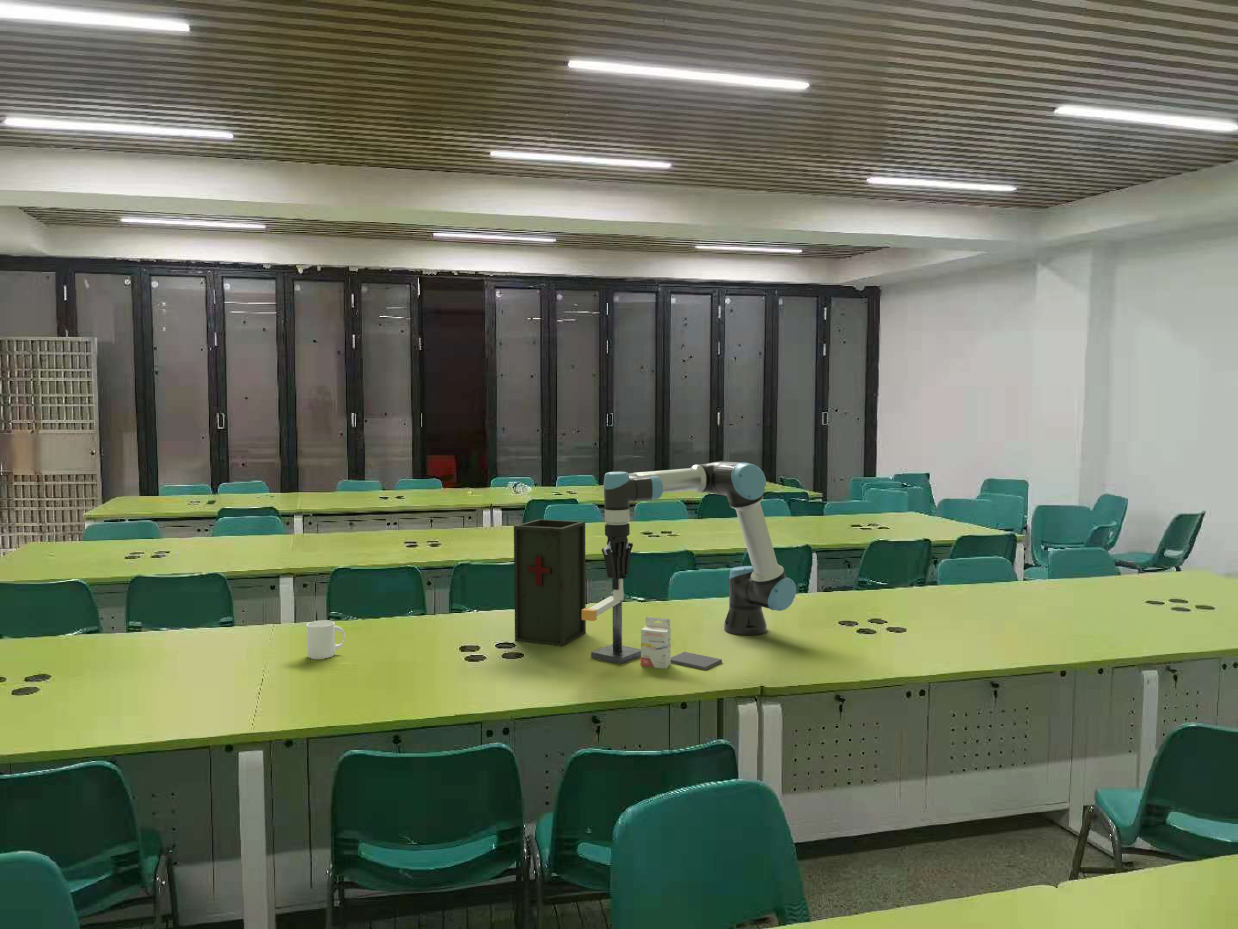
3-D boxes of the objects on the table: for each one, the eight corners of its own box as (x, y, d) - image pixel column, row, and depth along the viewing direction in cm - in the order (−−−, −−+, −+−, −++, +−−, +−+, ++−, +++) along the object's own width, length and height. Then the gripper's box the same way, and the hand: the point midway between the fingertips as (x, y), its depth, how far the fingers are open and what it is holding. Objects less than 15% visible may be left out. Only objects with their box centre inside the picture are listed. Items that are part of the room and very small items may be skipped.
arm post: (613, 649, 286) (613, 596, 284) (643, 655, 278) (643, 601, 277) (591, 658, 276) (591, 602, 275) (621, 664, 269) (621, 608, 268)
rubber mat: (684, 654, 280) (684, 651, 279) (721, 662, 271) (721, 659, 271) (667, 662, 272) (667, 659, 272) (705, 670, 263) (705, 667, 263)
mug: (348, 656, 279) (347, 623, 278) (309, 661, 273) (308, 628, 272) (343, 649, 286) (342, 617, 286) (305, 654, 281) (304, 622, 280)
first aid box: (514, 641, 296) (513, 525, 293) (539, 628, 313) (538, 519, 310) (563, 646, 289) (562, 528, 286) (585, 633, 306) (585, 521, 303)
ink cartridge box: (640, 666, 267) (640, 619, 266) (644, 662, 272) (645, 616, 271) (666, 669, 264) (666, 622, 263) (671, 664, 269) (671, 618, 268)
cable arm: (613, 600, 279) (613, 590, 279) (626, 601, 277) (626, 591, 277) (580, 619, 254) (580, 609, 254) (594, 621, 252) (594, 610, 252)
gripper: (620, 519, 268) (621, 594, 270) (593, 524, 257) (595, 602, 259) (639, 521, 263) (640, 597, 265) (613, 526, 253) (615, 605, 255)
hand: (618, 599), depth 262 cm, fingers closed
